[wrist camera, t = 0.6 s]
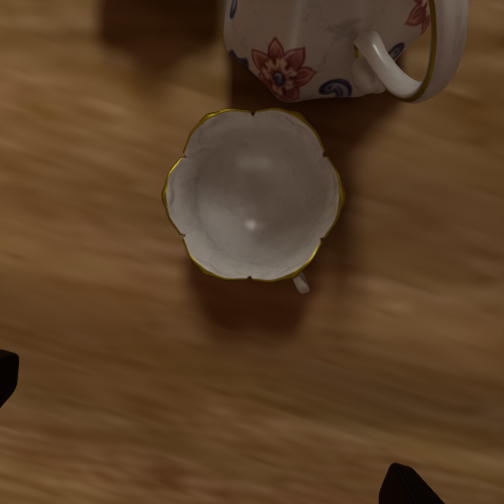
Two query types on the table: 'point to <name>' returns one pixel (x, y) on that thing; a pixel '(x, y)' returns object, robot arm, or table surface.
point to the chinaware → (295, 127)
